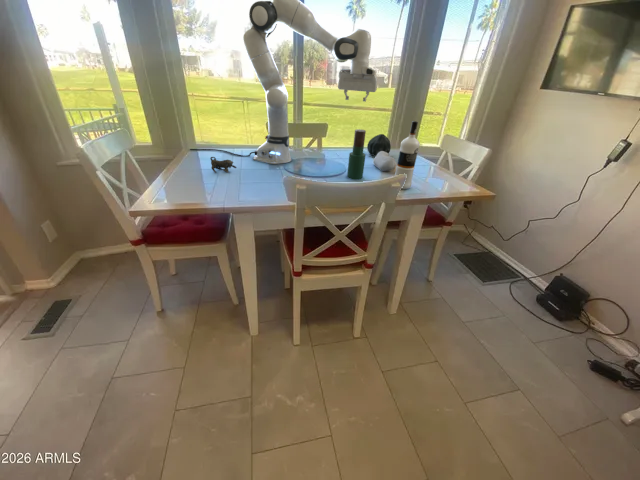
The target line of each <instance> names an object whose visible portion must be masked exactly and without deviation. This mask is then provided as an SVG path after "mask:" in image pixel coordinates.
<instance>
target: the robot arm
mask: <svg viewBox="0 0 640 480" xmlns="http://www.w3.org/2000/svg"><path fill="white" fill-rule="evenodd" d="M248 15H249V21H250V23H251V27H250V28H248V29H247V30H246V31H244V34H243V37H242V40H243V43H244V47H245V51H246V54H247V56H248V59H249V62H250V63H251V66H252V68H253V70H254V72H255V75H256V77H257V79H258V81H259V83H260V84H261V87H262V89H263V90H264V93H265V105H266V114H267V127H268V134H267V135H266V136H265V137H264V139H265V140H266V141H264V143H263V144H261V145H259V147H258V148H257V149H256V150H254V151H251V152H249V154H248V155H242V154H237V153H233V152H231V151H228V150H224V149H216V148H189V151H217V152H223V153H228V154H230V155H233V156H238V157H244V158H245V157H247V158H248V157H250V156H251V155H252V154H254V156H253V161H257V162H261V163H266V164H270V165H279V164H286V163H290V162H291V161H292V156H291V152H290V135H289V111H288V110H289V107H288V101H289V100H288V99H289V94H288V91H287V88H286V86H285V83H284V80H283V78H282V75H281V74H280V71H279V69H278V67H277V64H276V62H275V59H274V56H273V54H272V51H271V48H270V47H269V44H268V39H267V38H269V36H270V35H271V34H272V33H273V32H274V31H275V29H276V28H277V25H278V24H282V25H285V26H286V27H287V28H289V29H290V30H292V31H293V32H295V33H297V34H299V35H300V36H304V37H306V38H308V39H311V40H314V41H316V42H317V43H318V44H320V45H321V46H323V47H324V48H325V49H327V50H328V51H329V52H330V53H331V55H332V58H334V60H335V61H337V62H338V63H345V62H347V61H348V60H350V69H348V68H347V69H345V68H342V69H340V70H339V71H338V83H337V88H338V90H342V91H343V93H344V96H345V101H349V100H350V95H348V91H353V92H365V94H366V95H365V97H362V102H364V103H365V102H367V98H368V96H369V95H370V93H376V92H377V89H378V77H377V76H376V75H377V70H376V69H375V68H372V67H370V66H369V63H370V62H369V58H370V54H371V48H372V35H371V33H370V31H368V30H366V29H361V28H356V29H355V30H354V31H353V32H351V33H350V34H347V35H344V36H341V37H336V36H335V35H333V34H332V33H331V32H330V31H328V30H327V29H326V28H325V27H323V26H322V25H321V24H320V22H319V21H318V19H317V17H316V15H315V14H314V12H313V11H312V10H311V8H309V7H308V6H307V5H306V4H305V3H304V2H303V1H301V0H272V1H271V0H257V1H255V2H254V3H253V4H252V5H250V8H249V13H248Z"/></svg>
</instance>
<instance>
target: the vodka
mask: <svg viewBox="0 0 640 480" xmlns="http://www.w3.org/2000/svg"><path fill="white" fill-rule="evenodd" d="M418 125H419V121H417V120H412V121H411V124H410V129H409V134H408V136H407V137H405V138H404V139H403V140H401V142H400V146H399V147H400V148H399V154H398V158H397V163H396V165H395V173H394V176H395V175H399V174H404V173H405V174H407V178H406V181H405V184H404V186H403V188H402V189H401V190H409V189H410V188H411V187H412V185H413V182H412V180H413V175H414V170H415V166H416V161H417V157H418V152H419V149H420V147H421V144H420V141H419V139H417V138H416V134H417V129H418Z"/></svg>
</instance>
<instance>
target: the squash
mask: <svg viewBox="0 0 640 480" xmlns="http://www.w3.org/2000/svg"><path fill="white" fill-rule="evenodd" d="M366 146H367V148H366V149H367V153H368V154H370V155H371V156H375V157H376V155H377V154H378V153H379V152H380V151H384V152H387V153H388V154H390V152H391V149H392V147H391V146H392V145H391V141H390V139H389V137H387V136H386V135H385V134H383V133H379V134H377V135H375V136H373V137H372V138H370V139H369V141H368V142H367V145H366Z"/></svg>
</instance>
